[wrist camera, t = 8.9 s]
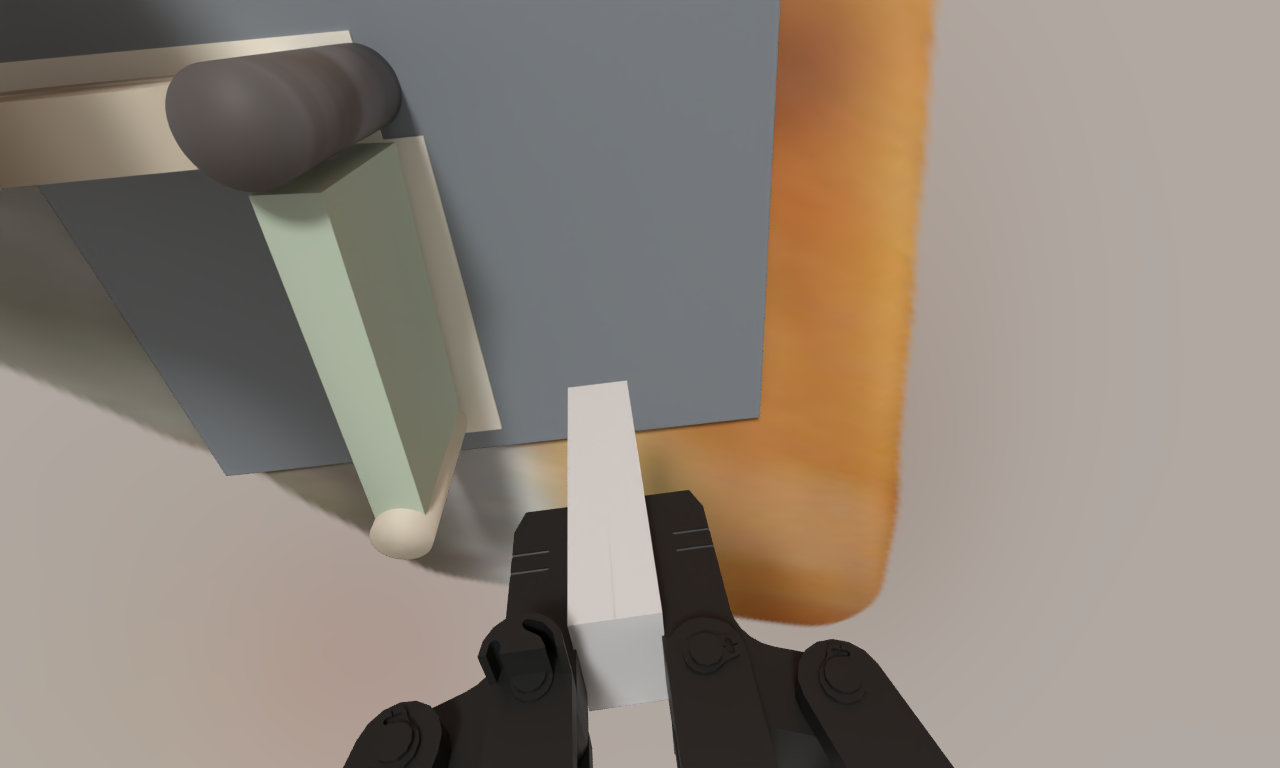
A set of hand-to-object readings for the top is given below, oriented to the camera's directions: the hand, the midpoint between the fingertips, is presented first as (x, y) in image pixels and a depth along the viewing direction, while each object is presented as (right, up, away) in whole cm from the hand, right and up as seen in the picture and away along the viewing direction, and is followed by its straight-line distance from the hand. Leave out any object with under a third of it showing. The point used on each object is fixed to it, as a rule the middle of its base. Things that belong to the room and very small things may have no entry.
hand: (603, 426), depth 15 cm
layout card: (-6, +6, +6) cm, 11 cm away
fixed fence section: (-13, +10, +2) cm, 17 cm away
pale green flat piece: (-7, +4, +6) cm, 10 cm away
